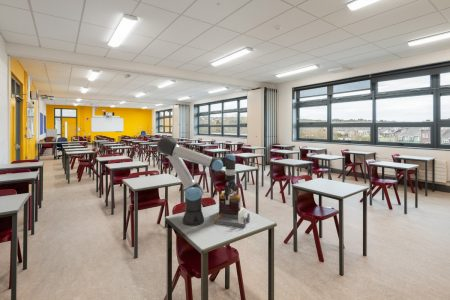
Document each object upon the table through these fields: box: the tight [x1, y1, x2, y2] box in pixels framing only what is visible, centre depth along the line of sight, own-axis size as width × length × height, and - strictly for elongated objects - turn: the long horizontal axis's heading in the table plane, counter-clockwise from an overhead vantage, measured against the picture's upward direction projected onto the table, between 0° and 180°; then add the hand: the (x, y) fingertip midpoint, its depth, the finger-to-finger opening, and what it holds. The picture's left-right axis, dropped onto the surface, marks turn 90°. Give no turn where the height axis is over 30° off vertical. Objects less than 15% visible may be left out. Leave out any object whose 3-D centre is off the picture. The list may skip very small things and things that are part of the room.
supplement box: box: [218, 192, 242, 216], centre depth 187 cm, size 10×15×16 cm
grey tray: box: [212, 213, 251, 229], centre depth 173 cm, size 23×13×6 cm, turn 68°
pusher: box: [238, 207, 247, 223], centre depth 170 cm, size 4×11×9 cm, turn 158°
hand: (230, 201), depth 187 cm, fingers open, 13 cm apart
